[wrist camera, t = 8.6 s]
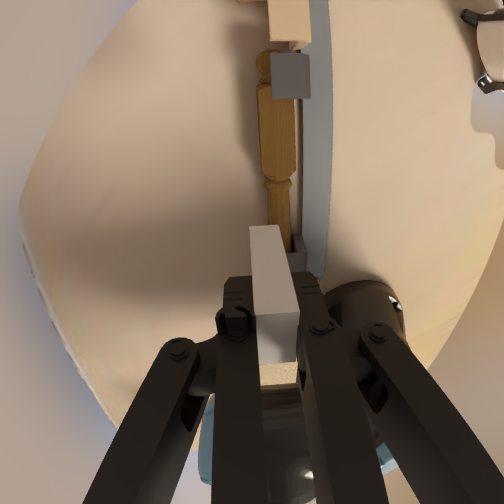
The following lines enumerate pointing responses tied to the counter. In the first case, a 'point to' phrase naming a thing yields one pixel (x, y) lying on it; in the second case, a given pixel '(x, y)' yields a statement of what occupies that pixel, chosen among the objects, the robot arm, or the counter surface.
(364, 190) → the counter surface
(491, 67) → the coffee press
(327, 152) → the board
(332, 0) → the counter surface
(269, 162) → the tap handle
